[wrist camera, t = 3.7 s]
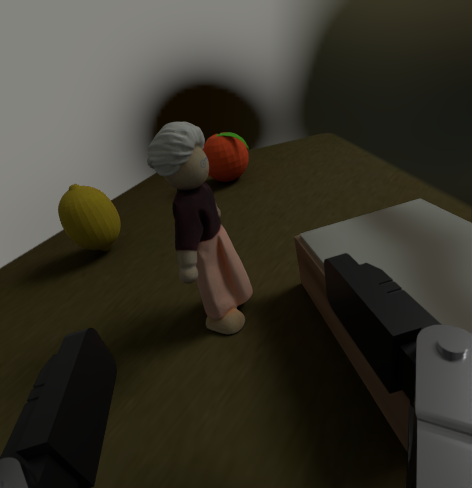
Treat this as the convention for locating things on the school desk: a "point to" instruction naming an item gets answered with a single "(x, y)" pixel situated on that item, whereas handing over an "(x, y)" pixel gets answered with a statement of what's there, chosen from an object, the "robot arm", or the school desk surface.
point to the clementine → (226, 156)
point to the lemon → (89, 218)
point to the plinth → (396, 276)
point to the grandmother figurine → (200, 227)
